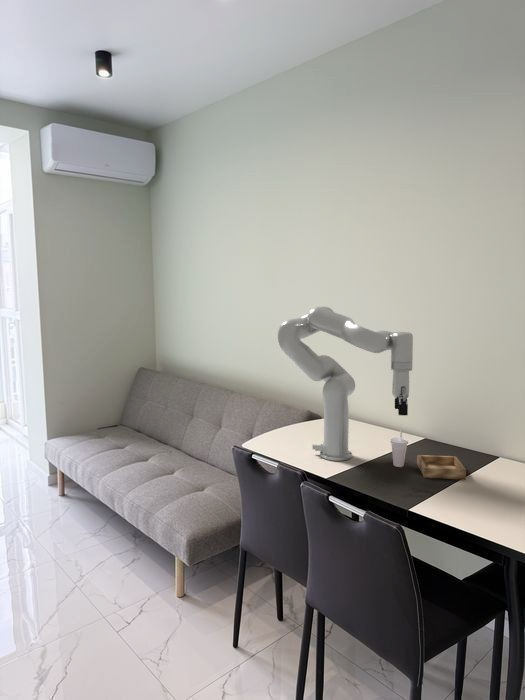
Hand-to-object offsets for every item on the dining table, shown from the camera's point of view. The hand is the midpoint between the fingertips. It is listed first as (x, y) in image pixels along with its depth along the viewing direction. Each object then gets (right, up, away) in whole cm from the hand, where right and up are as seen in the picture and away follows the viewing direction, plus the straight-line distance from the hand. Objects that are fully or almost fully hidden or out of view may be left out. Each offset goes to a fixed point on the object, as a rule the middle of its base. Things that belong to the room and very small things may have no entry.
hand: (400, 411), depth 186 cm
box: (+13, -21, -4) cm, 25 cm away
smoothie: (0, -20, +3) cm, 21 cm away
